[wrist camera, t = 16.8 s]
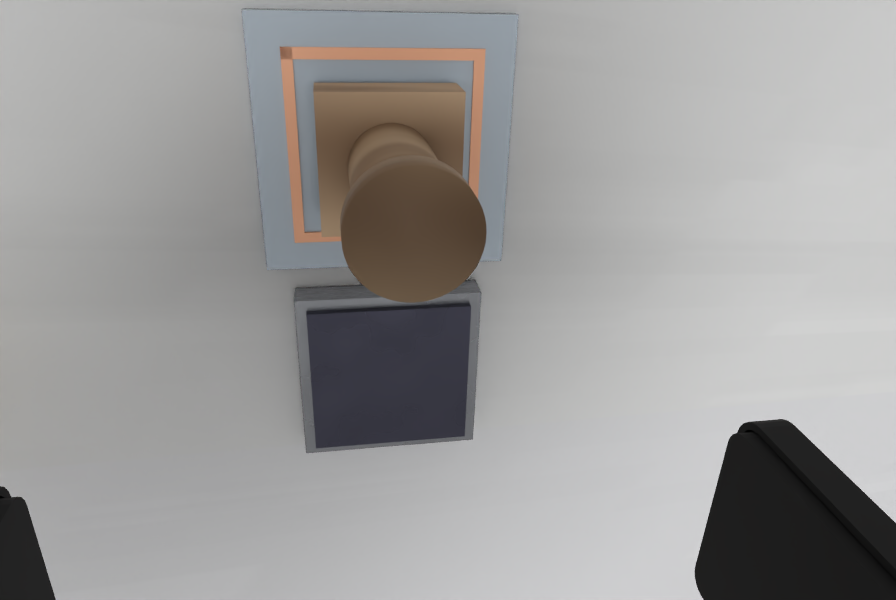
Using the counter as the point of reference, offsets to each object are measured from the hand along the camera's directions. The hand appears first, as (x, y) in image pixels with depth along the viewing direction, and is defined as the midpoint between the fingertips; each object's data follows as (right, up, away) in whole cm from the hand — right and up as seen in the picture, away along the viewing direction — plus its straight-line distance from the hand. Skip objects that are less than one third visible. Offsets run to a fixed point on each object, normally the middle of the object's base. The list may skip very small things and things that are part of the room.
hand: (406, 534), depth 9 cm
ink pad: (-2, 0, +21) cm, 21 cm away
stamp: (-2, +9, +16) cm, 19 cm away
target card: (-2, +9, +17) cm, 19 cm away
